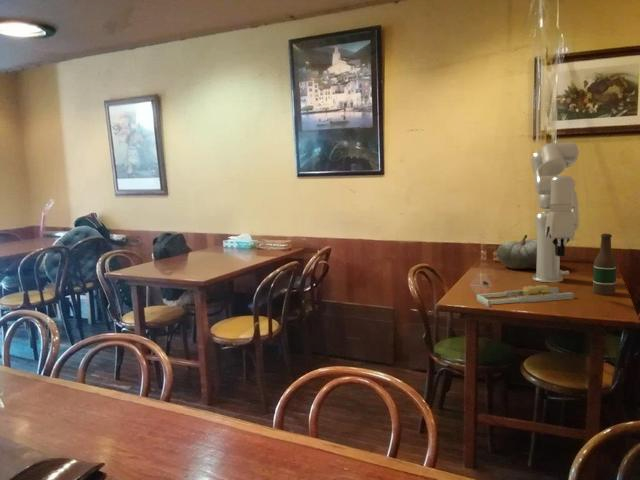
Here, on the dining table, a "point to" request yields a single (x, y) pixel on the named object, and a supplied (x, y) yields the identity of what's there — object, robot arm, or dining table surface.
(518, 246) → the gourd
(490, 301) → the tray
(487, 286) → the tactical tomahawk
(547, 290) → the chip
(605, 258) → the beer bottle
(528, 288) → the chip
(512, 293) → the slot board
